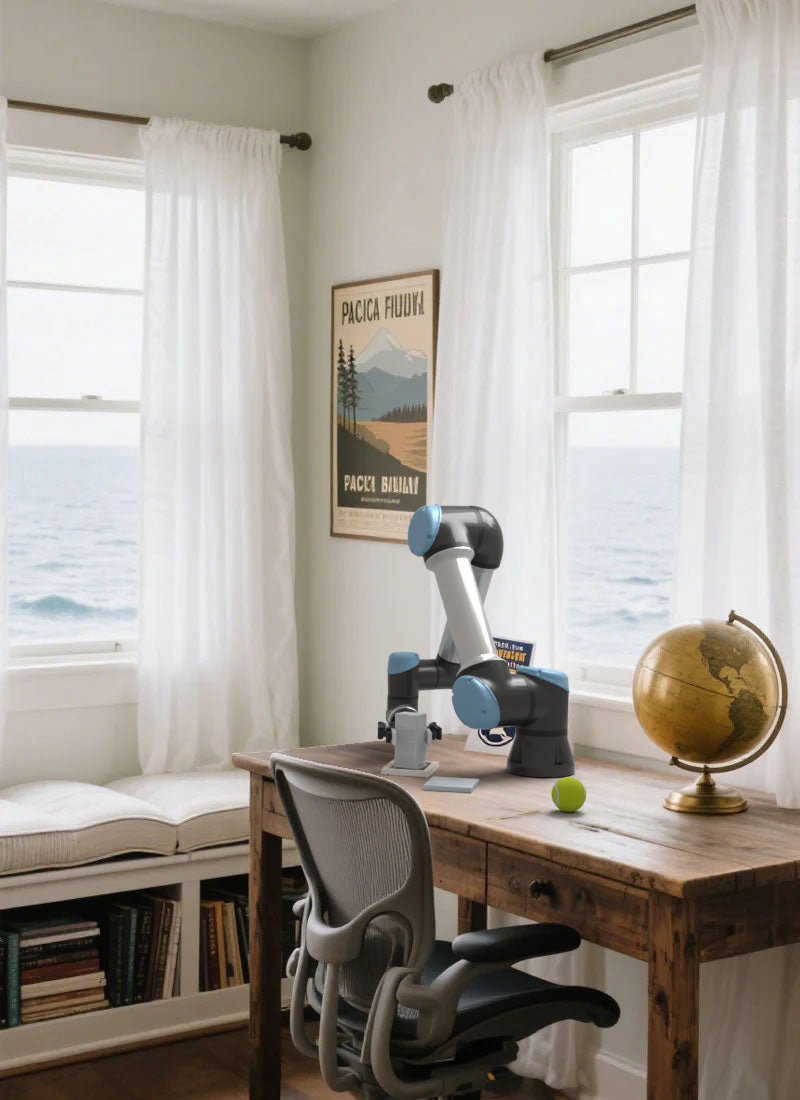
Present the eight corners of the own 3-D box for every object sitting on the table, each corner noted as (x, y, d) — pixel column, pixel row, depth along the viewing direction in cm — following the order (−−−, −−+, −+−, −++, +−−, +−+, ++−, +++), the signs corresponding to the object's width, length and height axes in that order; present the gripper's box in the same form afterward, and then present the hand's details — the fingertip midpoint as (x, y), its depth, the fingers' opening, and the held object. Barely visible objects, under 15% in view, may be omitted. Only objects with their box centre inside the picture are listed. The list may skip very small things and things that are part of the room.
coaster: (479, 783, 297) (479, 779, 297) (471, 792, 287) (471, 788, 287) (432, 780, 299) (432, 776, 299) (423, 789, 289) (423, 785, 289)
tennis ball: (547, 808, 274) (547, 774, 274) (580, 807, 275) (580, 773, 275) (556, 815, 267) (557, 780, 267) (590, 815, 268) (591, 780, 268)
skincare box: (426, 767, 311) (427, 713, 310) (416, 770, 307) (417, 715, 307) (403, 764, 314) (404, 711, 314) (393, 767, 310) (394, 713, 310)
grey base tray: (438, 767, 315) (438, 761, 315) (428, 777, 303) (428, 771, 303) (393, 764, 318) (393, 759, 318) (380, 774, 305) (381, 768, 305)
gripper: (447, 739, 329) (457, 756, 306) (362, 739, 328) (366, 756, 305) (447, 707, 329) (458, 722, 306) (362, 707, 327) (366, 721, 305)
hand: (412, 739), depth 305 cm, fingers closed on skincare box, 7 cm apart
